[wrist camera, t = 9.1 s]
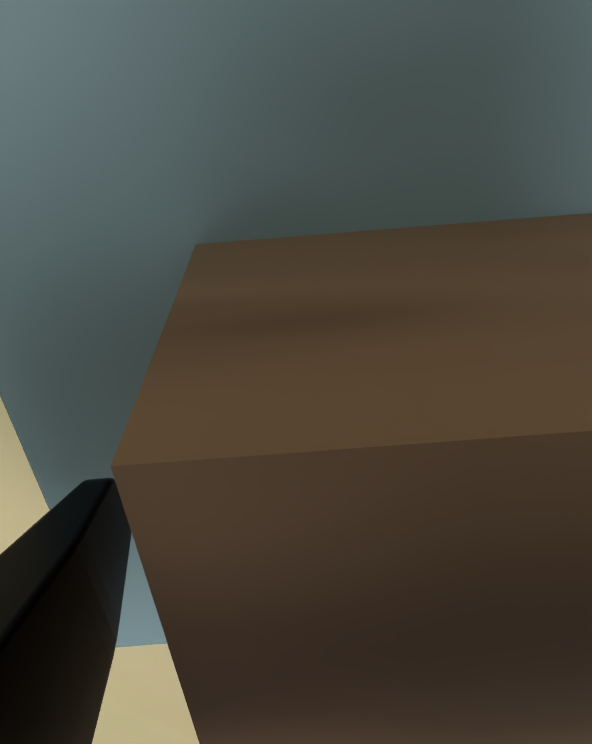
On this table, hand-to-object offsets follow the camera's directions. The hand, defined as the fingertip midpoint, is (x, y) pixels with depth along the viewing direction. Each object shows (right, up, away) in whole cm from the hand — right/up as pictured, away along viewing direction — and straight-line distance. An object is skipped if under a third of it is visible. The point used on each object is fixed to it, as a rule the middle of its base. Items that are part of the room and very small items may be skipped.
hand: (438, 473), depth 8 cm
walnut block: (0, +1, +2) cm, 2 cm away
